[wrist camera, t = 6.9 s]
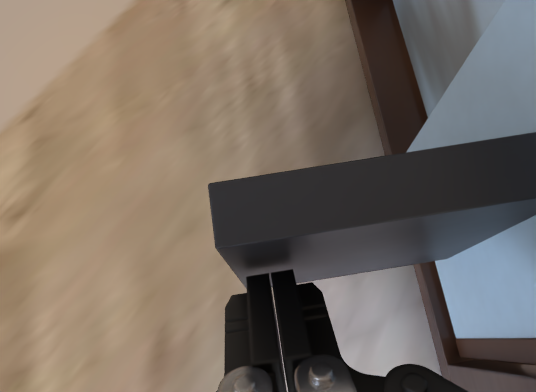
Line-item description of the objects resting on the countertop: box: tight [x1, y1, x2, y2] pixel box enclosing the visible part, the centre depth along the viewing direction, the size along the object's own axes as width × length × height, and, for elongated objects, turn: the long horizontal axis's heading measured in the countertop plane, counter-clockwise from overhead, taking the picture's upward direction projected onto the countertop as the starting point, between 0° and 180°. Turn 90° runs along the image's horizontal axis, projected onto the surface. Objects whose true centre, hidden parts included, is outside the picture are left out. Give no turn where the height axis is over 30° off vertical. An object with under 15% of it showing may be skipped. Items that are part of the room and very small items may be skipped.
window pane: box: [208, 0, 536, 365], centre depth 14 cm, size 10×9×13 cm
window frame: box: [345, 0, 536, 392], centre depth 16 cm, size 22×3×16 cm, turn 9°
